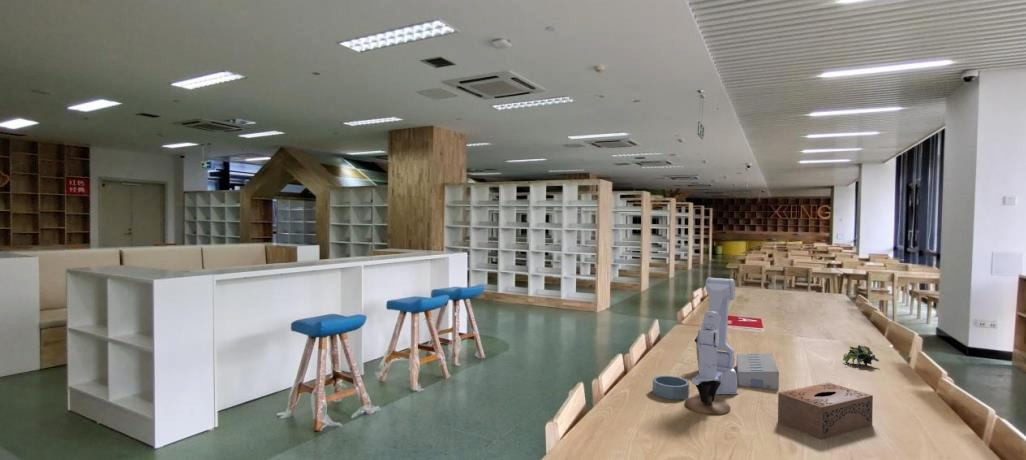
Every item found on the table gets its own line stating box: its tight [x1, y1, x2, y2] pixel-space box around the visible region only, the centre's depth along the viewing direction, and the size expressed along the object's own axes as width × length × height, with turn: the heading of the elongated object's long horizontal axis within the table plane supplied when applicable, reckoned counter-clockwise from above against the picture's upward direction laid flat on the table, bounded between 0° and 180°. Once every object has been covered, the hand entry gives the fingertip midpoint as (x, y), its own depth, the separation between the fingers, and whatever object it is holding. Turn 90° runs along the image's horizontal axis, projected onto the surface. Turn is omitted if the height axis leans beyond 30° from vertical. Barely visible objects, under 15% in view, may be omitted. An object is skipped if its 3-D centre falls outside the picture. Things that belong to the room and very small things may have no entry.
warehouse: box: [736, 352, 780, 391], centre depth 213 cm, size 30×14×8 cm, turn 157°
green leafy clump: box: [842, 344, 880, 368], centre depth 231 cm, size 11×11×12 cm
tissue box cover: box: [777, 382, 874, 440], centre depth 163 cm, size 26×14×10 cm, turn 115°
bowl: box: [652, 375, 690, 401], centre depth 191 cm, size 13×13×5 cm
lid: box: [684, 395, 731, 416], centre depth 177 cm, size 15×15×4 cm
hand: (707, 401), depth 178 cm, fingers closed on lid, 3 cm apart
